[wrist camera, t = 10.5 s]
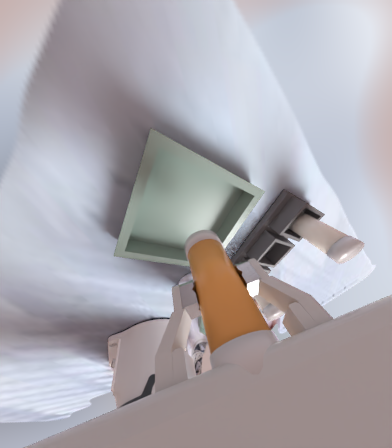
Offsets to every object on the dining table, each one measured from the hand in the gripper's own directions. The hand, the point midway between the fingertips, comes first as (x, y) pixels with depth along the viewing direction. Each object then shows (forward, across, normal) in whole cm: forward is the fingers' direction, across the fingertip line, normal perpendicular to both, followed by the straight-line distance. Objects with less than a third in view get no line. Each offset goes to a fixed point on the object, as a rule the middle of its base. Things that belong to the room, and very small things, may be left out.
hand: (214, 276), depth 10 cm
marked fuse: (+4, 0, 0) cm, 4 cm away
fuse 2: (+10, -16, +7) cm, 21 cm away
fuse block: (+11, -12, +12) cm, 20 cm away
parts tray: (+11, 0, 0) cm, 11 cm away
